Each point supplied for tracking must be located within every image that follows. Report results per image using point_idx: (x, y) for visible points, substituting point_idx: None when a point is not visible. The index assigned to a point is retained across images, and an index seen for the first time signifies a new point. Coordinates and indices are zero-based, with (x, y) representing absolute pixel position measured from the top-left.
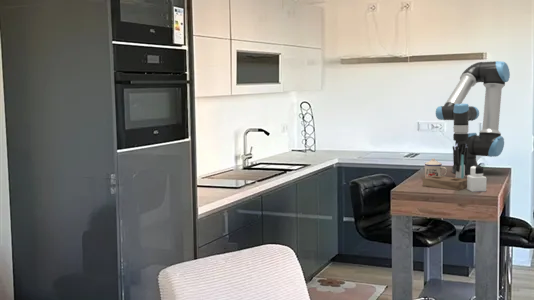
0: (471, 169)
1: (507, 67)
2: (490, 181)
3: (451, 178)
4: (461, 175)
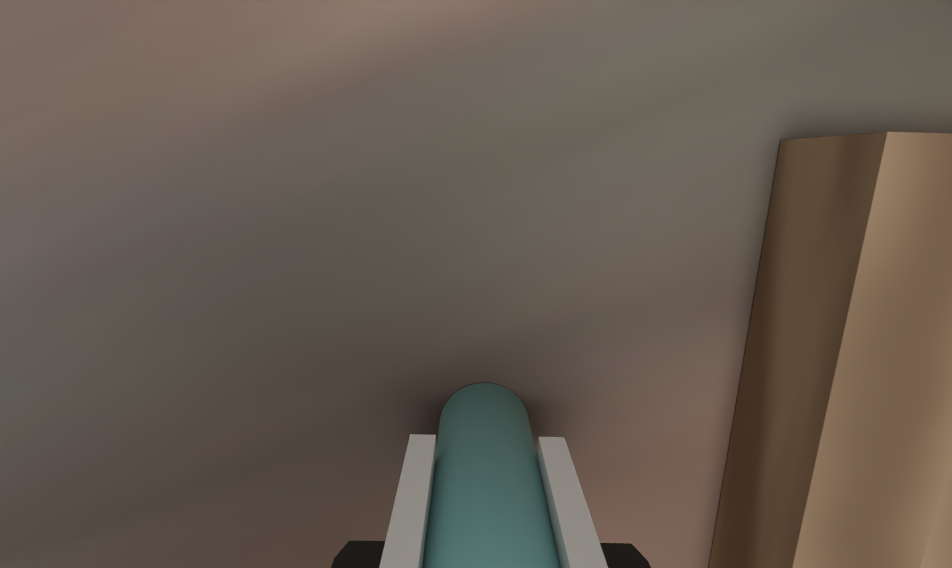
0: None
1: None
2: (40, 113)
3: (936, 456)
4: (528, 463)
